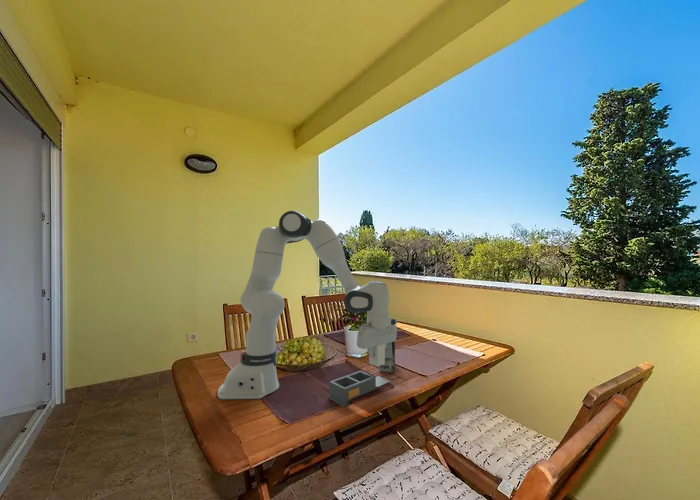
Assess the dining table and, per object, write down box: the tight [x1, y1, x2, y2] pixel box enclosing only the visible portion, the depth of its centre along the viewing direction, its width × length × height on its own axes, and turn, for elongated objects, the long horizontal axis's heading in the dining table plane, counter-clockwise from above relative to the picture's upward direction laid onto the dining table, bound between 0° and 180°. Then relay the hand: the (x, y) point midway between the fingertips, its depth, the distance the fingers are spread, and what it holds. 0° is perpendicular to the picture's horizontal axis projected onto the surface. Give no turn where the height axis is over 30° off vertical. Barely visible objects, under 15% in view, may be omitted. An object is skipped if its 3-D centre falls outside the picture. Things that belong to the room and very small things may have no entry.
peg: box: [368, 344, 385, 367], centre depth 120 cm, size 4×4×8 cm
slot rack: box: [327, 370, 391, 408], centre depth 114 cm, size 26×9×6 cm, turn 133°
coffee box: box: [379, 340, 396, 373], centre depth 135 cm, size 9×6×16 cm
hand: (377, 355), depth 120 cm, fingers closed on peg, 4 cm apart
